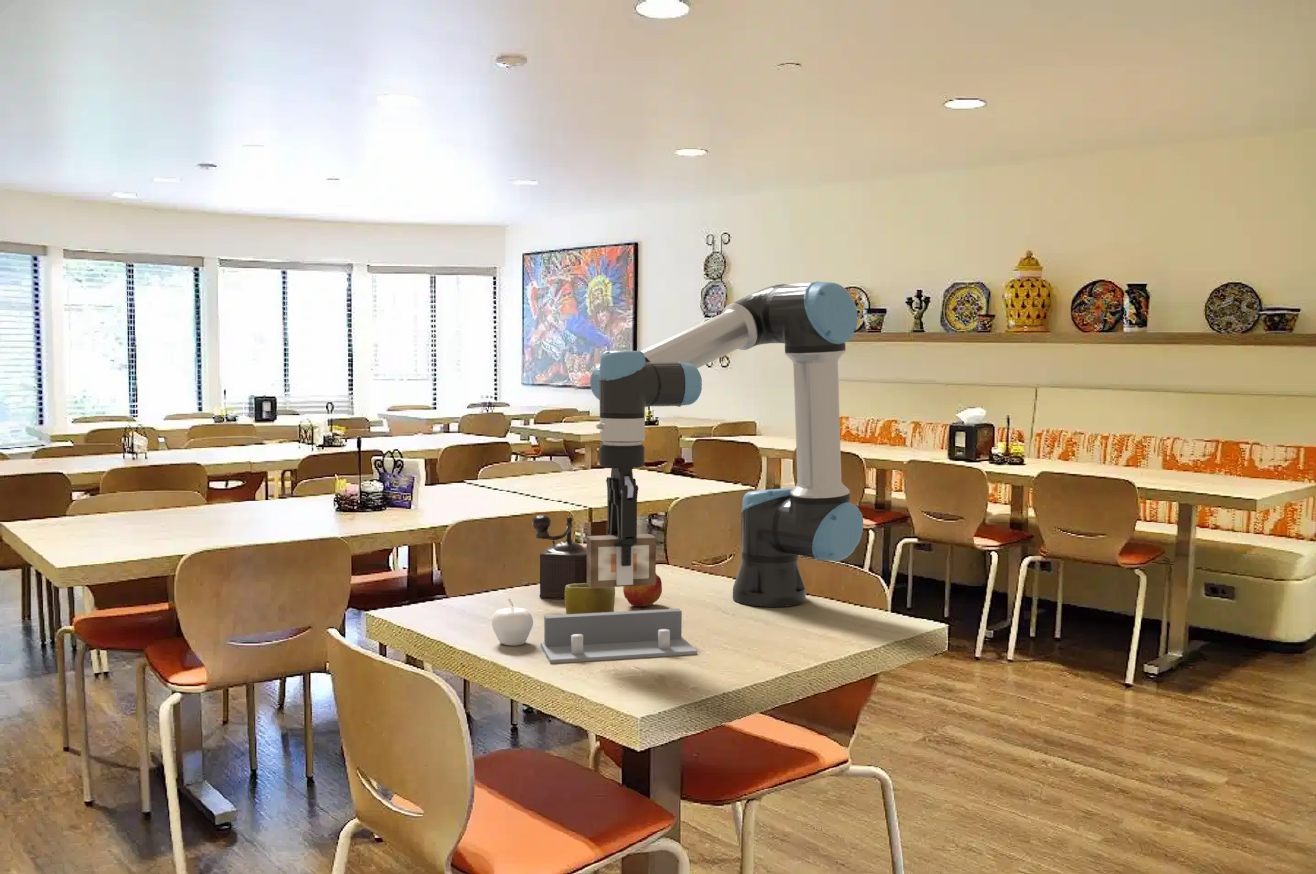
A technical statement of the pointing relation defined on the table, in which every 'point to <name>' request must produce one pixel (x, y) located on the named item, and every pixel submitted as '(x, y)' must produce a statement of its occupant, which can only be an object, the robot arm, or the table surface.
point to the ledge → (618, 651)
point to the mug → (588, 599)
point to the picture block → (604, 561)
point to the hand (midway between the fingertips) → (621, 581)
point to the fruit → (643, 593)
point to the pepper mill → (559, 560)
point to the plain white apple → (512, 625)
